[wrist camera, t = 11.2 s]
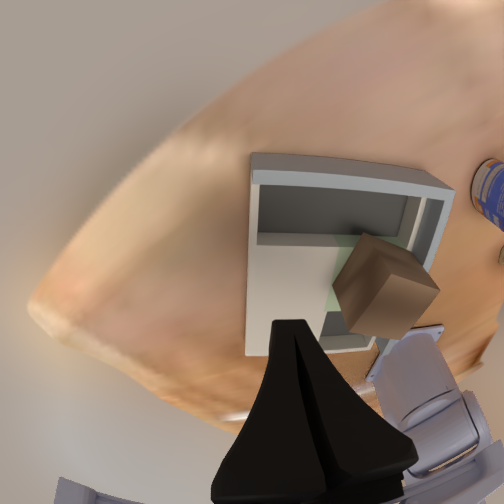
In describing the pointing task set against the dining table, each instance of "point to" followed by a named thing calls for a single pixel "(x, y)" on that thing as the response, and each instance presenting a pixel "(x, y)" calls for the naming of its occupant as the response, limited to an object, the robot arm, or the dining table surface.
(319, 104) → the dining table surface
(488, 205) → the pill bottle
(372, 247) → the walnut block
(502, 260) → the grandmother figurine
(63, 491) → the robot arm
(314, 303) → the board
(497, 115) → the dining table surface
